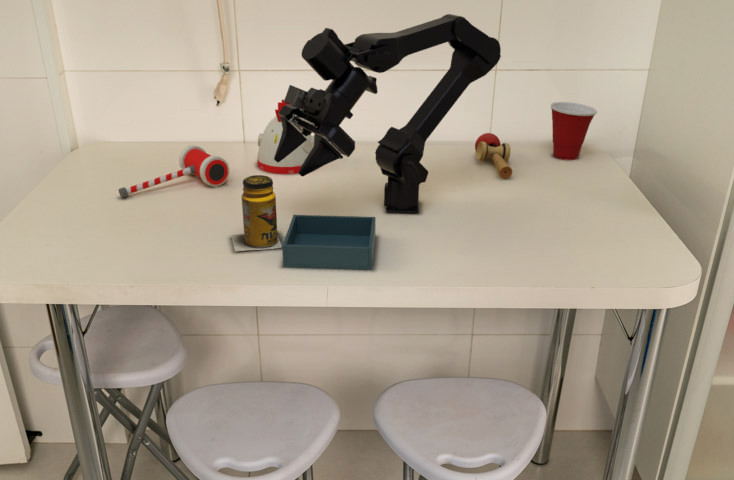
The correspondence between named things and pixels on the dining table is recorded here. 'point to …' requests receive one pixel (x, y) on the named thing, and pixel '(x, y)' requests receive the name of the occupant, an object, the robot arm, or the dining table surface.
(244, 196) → the condiment
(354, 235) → the tote
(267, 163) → the kitchen timer
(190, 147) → the toy hammer
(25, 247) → the dining table surface
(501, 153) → the kendama
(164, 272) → the dining table surface
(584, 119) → the plastic cup
